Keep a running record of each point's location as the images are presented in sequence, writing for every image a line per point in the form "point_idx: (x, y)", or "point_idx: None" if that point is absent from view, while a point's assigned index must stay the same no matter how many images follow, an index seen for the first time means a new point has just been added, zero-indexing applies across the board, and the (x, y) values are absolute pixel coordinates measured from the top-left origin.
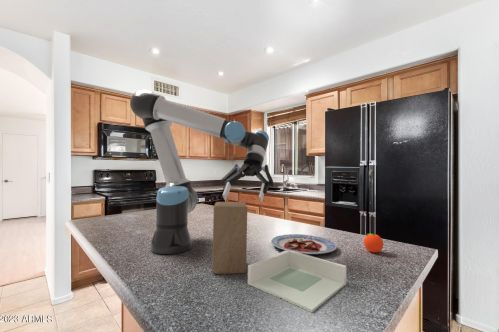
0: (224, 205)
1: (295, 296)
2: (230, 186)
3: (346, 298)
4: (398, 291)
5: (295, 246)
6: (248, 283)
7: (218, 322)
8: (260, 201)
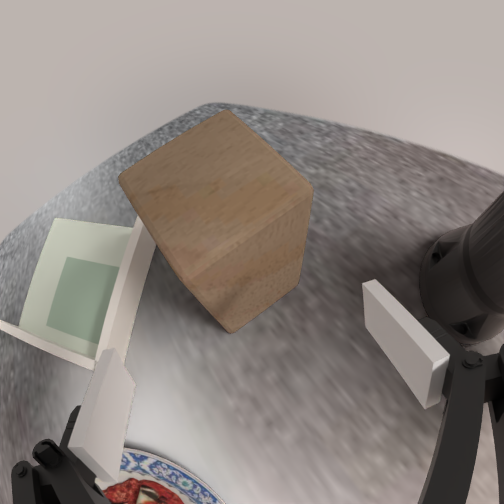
0: (202, 135)
1: (74, 235)
2: (422, 396)
3: (20, 283)
4: None
5: (139, 495)
6: None
7: (152, 138)
8: (131, 382)
